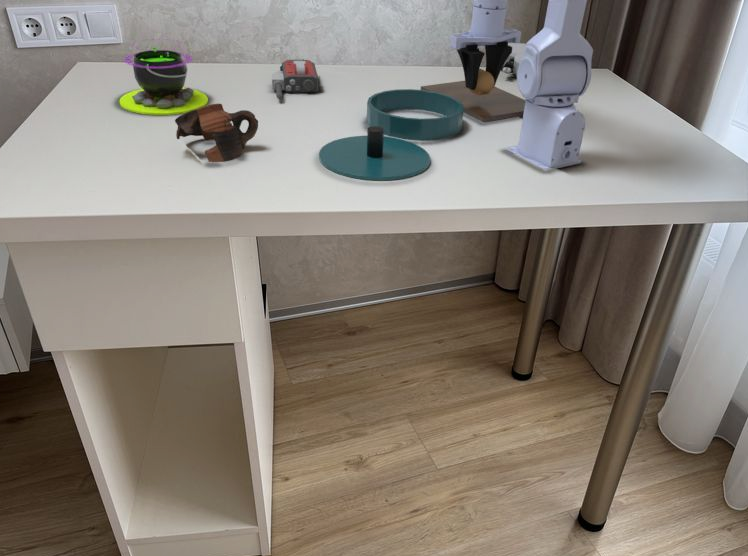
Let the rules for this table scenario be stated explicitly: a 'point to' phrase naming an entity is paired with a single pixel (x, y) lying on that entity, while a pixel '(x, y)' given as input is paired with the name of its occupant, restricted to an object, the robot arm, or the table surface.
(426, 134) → the teal bowl
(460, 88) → the board
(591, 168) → the table surface
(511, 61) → the robot toy
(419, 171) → the teal disc
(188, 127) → the broken mug
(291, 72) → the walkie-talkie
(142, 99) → the toy cauldron
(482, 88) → the potato
